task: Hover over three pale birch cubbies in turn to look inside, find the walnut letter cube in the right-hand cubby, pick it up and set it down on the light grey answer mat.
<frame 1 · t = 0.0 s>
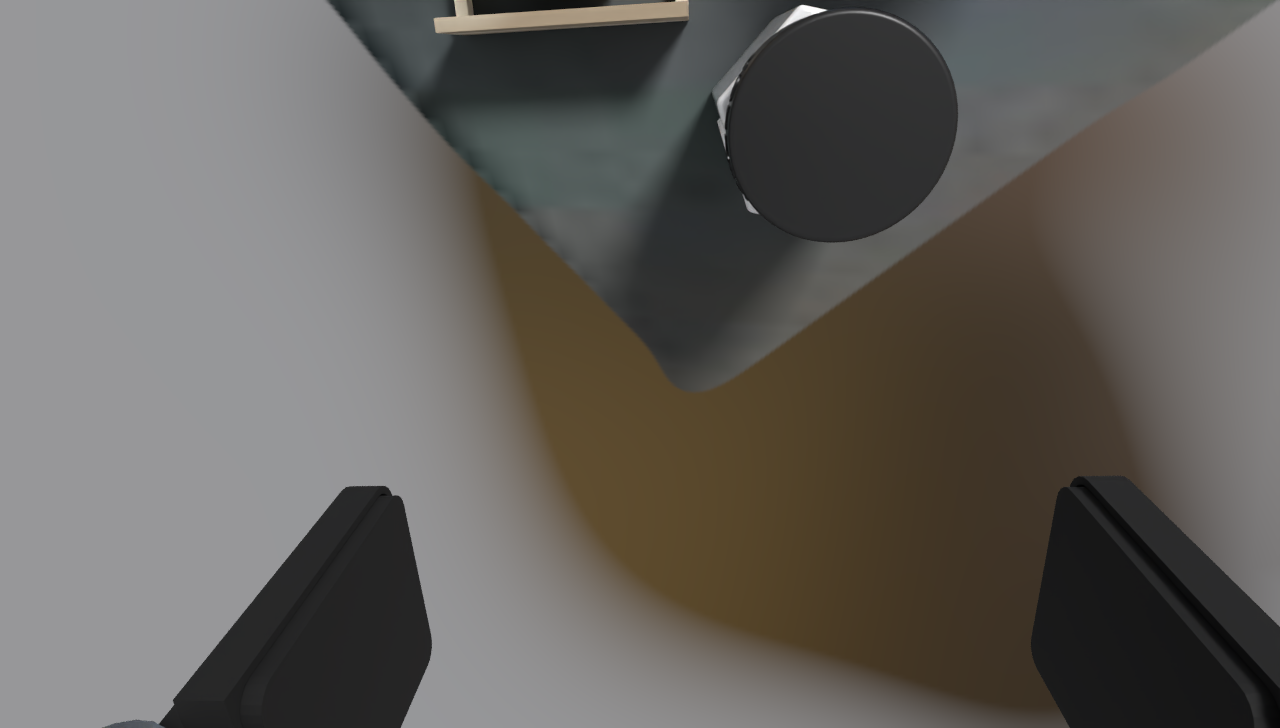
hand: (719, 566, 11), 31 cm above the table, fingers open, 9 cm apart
jar: (798, 108, 38), on the table
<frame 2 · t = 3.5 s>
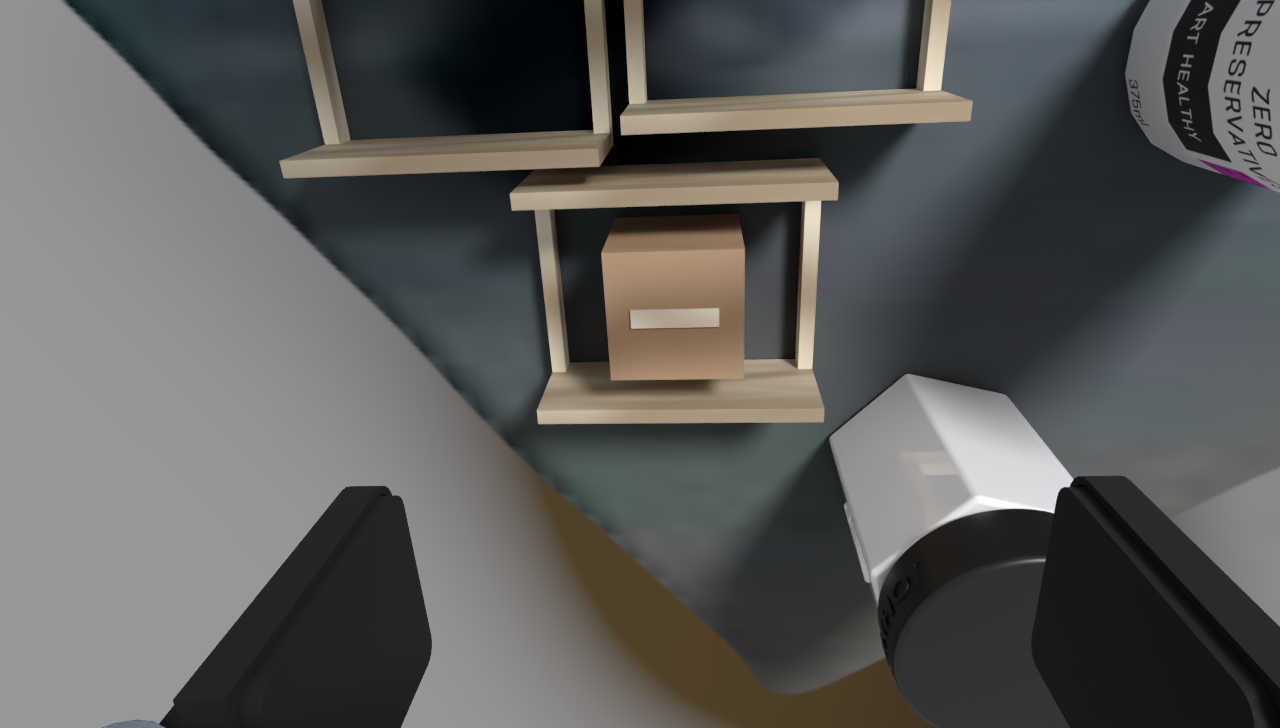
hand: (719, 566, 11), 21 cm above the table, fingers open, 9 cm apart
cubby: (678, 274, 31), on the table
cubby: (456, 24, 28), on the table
jar: (922, 453, 34), on the table
letter cube: (678, 273, 31), resting in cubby
supplement can: (1236, 43, 26), on the table
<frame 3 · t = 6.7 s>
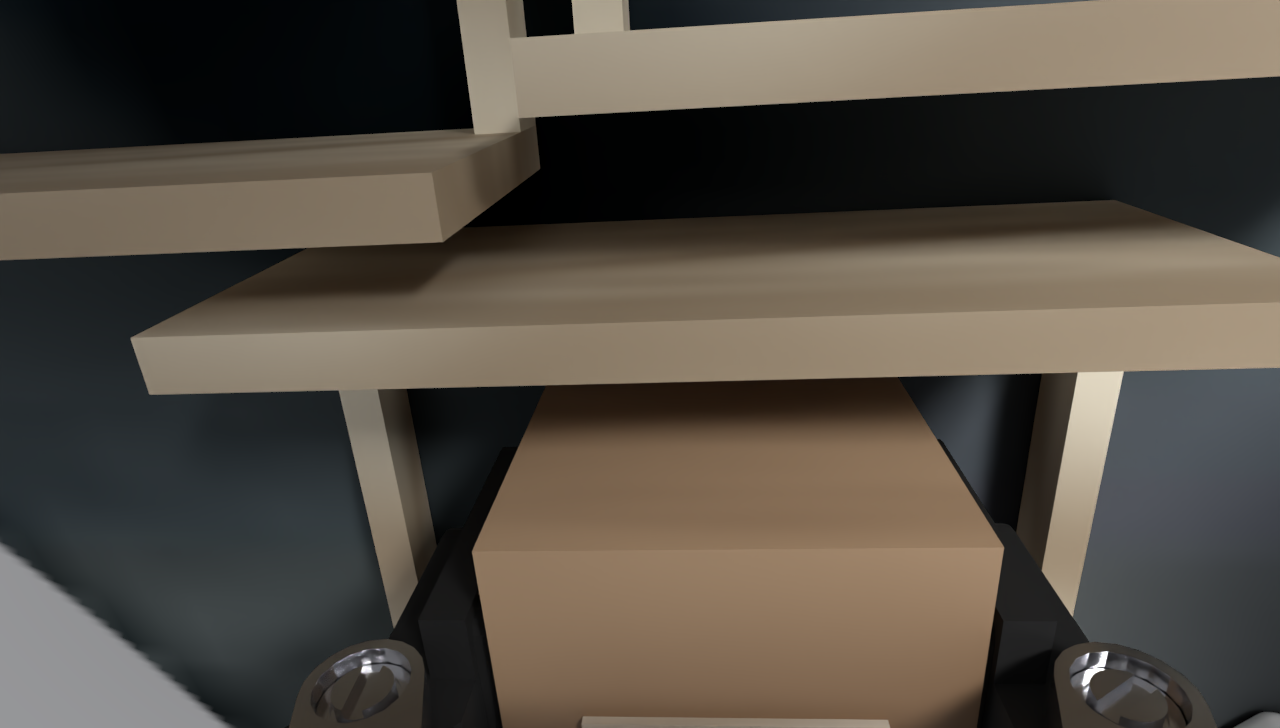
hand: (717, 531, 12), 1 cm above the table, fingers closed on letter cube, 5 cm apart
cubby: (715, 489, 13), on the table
letter cube: (719, 490, 13), resting in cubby, touching gripper
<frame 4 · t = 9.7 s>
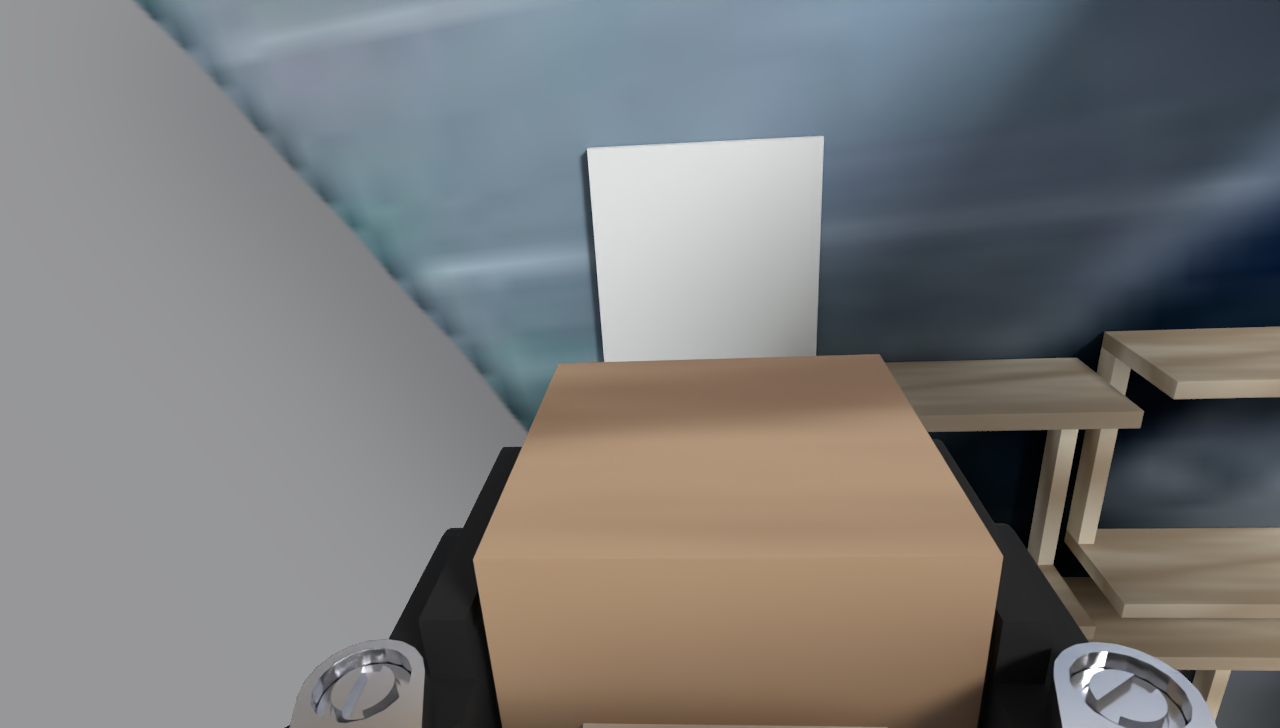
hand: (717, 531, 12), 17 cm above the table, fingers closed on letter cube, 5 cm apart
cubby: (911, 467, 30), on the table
answer mat: (706, 255, 27), on the table
letter cube: (719, 495, 13), point 16 cm above the table, touching gripper
when the fingers open (3 cm above the table, at t = 12.6 s): letter cube drops 1 cm, resting on answer mat.
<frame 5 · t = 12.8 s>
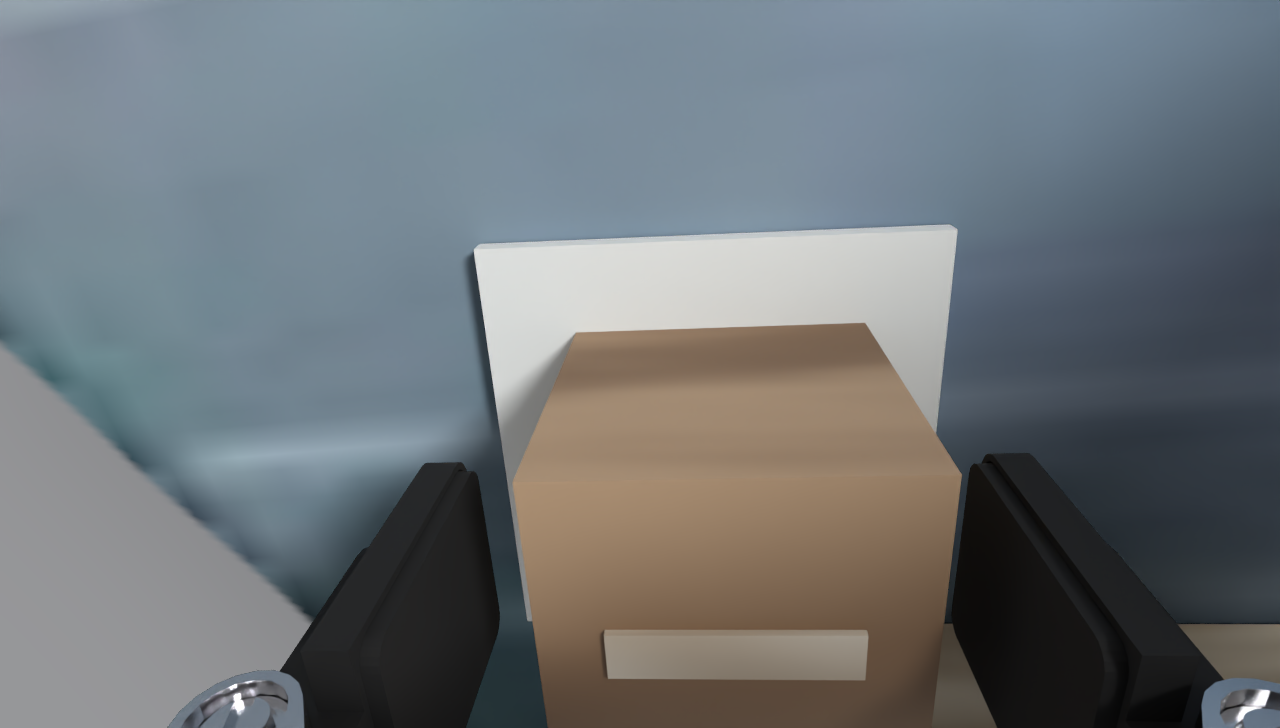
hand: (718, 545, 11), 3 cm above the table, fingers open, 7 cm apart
answer mat: (713, 441, 14), on the table
letter cube: (720, 453, 14), resting on answer mat
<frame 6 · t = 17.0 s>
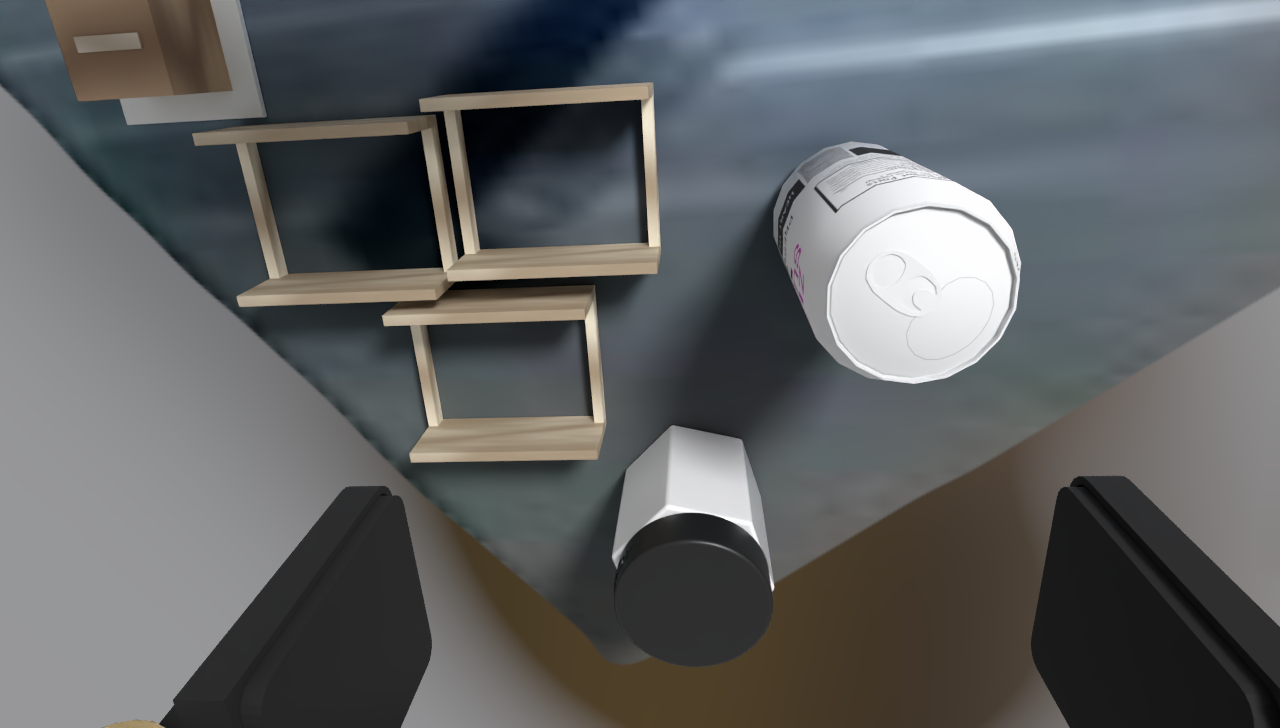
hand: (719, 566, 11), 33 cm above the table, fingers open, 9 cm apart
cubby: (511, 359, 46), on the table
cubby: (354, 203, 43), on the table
answer mat: (178, 43, 40), on the table
jar: (693, 480, 49), on the table
letter cube: (176, 44, 40), resting on answer mat
supplement can: (845, 216, 42), on the table
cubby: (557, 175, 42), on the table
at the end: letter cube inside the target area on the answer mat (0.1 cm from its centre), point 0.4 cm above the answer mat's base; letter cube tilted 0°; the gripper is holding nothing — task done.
